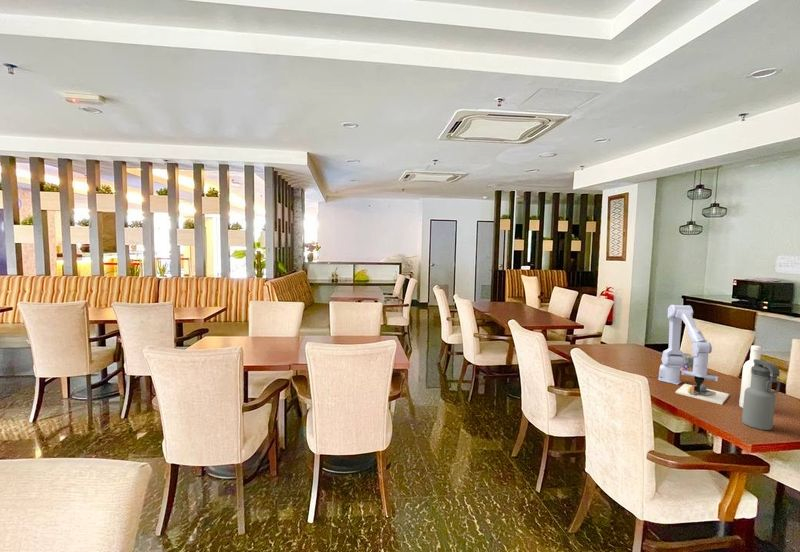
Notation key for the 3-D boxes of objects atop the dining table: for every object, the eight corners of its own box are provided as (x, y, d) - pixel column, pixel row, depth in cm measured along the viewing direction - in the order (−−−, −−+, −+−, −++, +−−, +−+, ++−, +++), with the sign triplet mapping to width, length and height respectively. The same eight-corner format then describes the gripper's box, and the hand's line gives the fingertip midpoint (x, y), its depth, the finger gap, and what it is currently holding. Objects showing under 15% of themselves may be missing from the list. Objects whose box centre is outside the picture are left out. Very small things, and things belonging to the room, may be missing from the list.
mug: (697, 375, 235) (699, 358, 234) (679, 373, 238) (681, 356, 237) (689, 369, 247) (691, 352, 246) (672, 367, 249) (674, 351, 249)
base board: (675, 393, 206) (676, 383, 205) (684, 385, 218) (685, 376, 217) (721, 404, 191) (722, 394, 191) (729, 395, 203) (729, 386, 203)
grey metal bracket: (698, 388, 210) (699, 380, 209) (715, 393, 202) (716, 385, 202) (683, 391, 205) (683, 383, 204) (699, 397, 197) (700, 388, 197)
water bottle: (779, 430, 165) (787, 365, 163) (760, 432, 164) (767, 365, 161) (754, 419, 175) (760, 358, 173) (735, 420, 174) (741, 358, 171)
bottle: (763, 413, 183) (770, 349, 181) (741, 409, 187) (747, 346, 184) (758, 406, 190) (764, 345, 187) (737, 403, 194) (743, 343, 191)
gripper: (682, 364, 200) (680, 390, 201) (718, 370, 191) (716, 397, 193) (682, 361, 206) (680, 386, 207) (718, 366, 197) (716, 393, 198)
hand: (697, 391), depth 200 cm, fingers closed, pressing on grey metal bracket
